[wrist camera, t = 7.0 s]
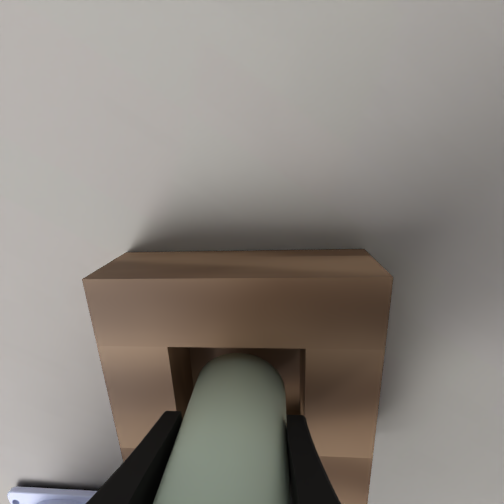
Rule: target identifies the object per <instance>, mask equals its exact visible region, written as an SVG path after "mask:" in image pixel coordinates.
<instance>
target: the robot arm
mask: <svg viewBox="0 0 504 504" xmlns="http://www.w3.org/2000/svg"><path fill="white" fill-rule="evenodd" d="M181 423H182V414H181V411H165V412H164V413H163V414H162V416H161V417H160V418H159V419H158V421H157V422H156V423H155V424H154V426H153V427H152V428H151V430H150V431H149V432H148V433H147V435H146V436H145V437H144V438H143V440H142V441H141V442H140V443H139V445H138V446H137V447H136V448H135V449H134V451H133V452H132V453H131V454H130V455H129V456H128V458H127V459H126V460H125V461H124V462H123V464H122V465H121V466H120V467H119V468H118V469H117V470H116V471H115V473H114V474H113V475H112V476H111V477H110V478H109V479H108V480H107V481H106V482H105V484H104V485H103V486H102V487H101V488H100V489H99V490H98V491H91V490H72V489H54V488H36V487H18V486H16V487H13V488H12V489H11V490H10V491H9V492H8V494H7V495H8V499H9V501H10V504H153V502H154V499H155V496H156V494H157V491H158V488H159V485H160V482H161V479H162V477H163V474H164V471H165V468H166V465H167V463H168V460H169V457H170V454H171V451H172V449H173V446H174V443H175V440H176V437H177V434H178V432H179V429H180V426H181ZM287 448H288V462H289V479H290V500H291V504H341V502H340V501H339V499H338V497H337V495H336V493H335V491H334V489H333V487H332V484H331V482H330V480H329V478H328V476H327V474H326V471H325V469H324V467H323V465H322V462H321V460H320V458H319V455H318V453H317V450H316V448H315V445H314V443H313V440H312V437H311V434H310V431H309V428H308V425H307V421H306V418H305V417H304V416H303V415H287Z"/></svg>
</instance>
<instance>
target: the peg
mask: <svg viewBox="0 0 504 504" xmlns="http://www.w3.org/2000/svg"><path fill="white" fill-rule="evenodd" d="M153 504H291V500H290V479H289V462H288V448H287V416H286V395H285V385H284V382H283V379H282V377H281V376H280V374H279V372H278V371H277V370H276V369H275V368H274V367H273V366H272V365H271V364H270V363H268V362H267V361H265V360H263V359H261V358H259V357H257V356H254V355H250V354H245V353H230V354H224V355H221V356H219V357H216V358H214V359H213V360H211V361H210V362H208V363H207V364H206V365H205V366H204V367H203V368H202V370H201V372H200V373H199V376H198V378H197V381H196V384H195V387H194V389H193V392H192V395H191V398H190V401H189V403H188V406H187V409H186V412H185V415H184V418H183V420H182V423H181V426H180V429H179V432H178V434H177V437H176V440H175V443H174V446H173V449H172V451H171V454H170V457H169V460H168V463H167V465H166V468H165V471H164V474H163V477H162V479H161V482H160V485H159V488H158V491H157V494H156V496H155V499H154V502H153Z"/></svg>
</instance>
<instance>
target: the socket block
mask: <svg viewBox="0 0 504 504" xmlns="http://www.w3.org/2000/svg"><path fill="white" fill-rule="evenodd" d="M82 281H83V285H84V290H85V294H86V299H87V303H88V307H89V312H90V316H91V321H92V325H93V330H94V334H95V338H96V343H97V347H98V352H99V356H100V361H101V365H102V369H103V374H104V378H105V383H106V387H107V391H108V396H109V400H110V405H111V409H112V414H113V418H114V422H115V427H116V431H117V436H118V440H119V445H120V449H121V453H122V458H123V462H124V461H125V460H126V459H127V458H128V456H129V455H130V454H131V453H132V452H133V451H134V449H135V448H136V447H137V446H138V445H139V443H140V442H141V441H142V440H143V438H144V437H145V436H146V435H147V433H148V432H149V431H150V430H151V428H152V427H153V426H154V424H155V423H156V422H157V421H158V419H159V418H160V417H161V416H162V414H163V413H164V412H165V411H181V414H182V420H183V418H184V415H185V412H186V409H187V406H188V403H189V401H190V398H191V395H192V392H193V389H194V387H195V384H196V381H197V378H198V376H199V373H200V372H201V370H202V368H203V367H204V366H205V365H206V364H207V363H208V362H210V361H211V360H213V359H214V358H216V357H219V356H221V355H224V354H230V353H245V354H250V355H254V356H257V357H259V358H261V359H263V360H265V361H267V362H268V363H270V364H271V365H272V366H273V367H274V368H275V369H276V370H277V371H278V372H279V374H280V376H281V377H282V379H283V382H284V385H285V395H286V416H287V415H303V416H304V417H305V418H306V421H307V425H308V428H309V431H310V434H311V437H312V440H313V443H314V445H315V448H316V450H317V453H318V455H319V458H320V460H321V462H322V465H323V467H324V469H325V471H326V474H327V476H328V478H329V480H330V482H331V484H332V487H333V489H334V491H335V493H336V495H337V497H338V499H339V501H340V502H341V504H367V502H368V493H369V485H370V476H371V467H372V458H373V450H374V441H375V432H376V424H377V415H378V406H379V397H380V389H381V380H382V371H383V363H384V354H385V345H386V336H387V328H388V319H389V310H390V302H391V293H392V284H393V276H391V275H390V274H389V273H388V272H387V271H386V270H385V269H384V268H383V267H382V266H381V265H380V264H379V263H378V262H377V261H376V260H375V259H374V258H373V257H372V256H371V255H370V254H369V253H368V252H367V251H366V250H365V249H326V250H256V251H185V252H126V253H124V254H123V255H121V256H119V257H118V258H116V259H115V260H113V261H111V262H110V263H108V264H106V265H105V266H103V267H101V268H100V269H98V270H96V271H95V272H93V273H92V274H90V275H88V276H87V277H85V278H83V279H82Z"/></svg>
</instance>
